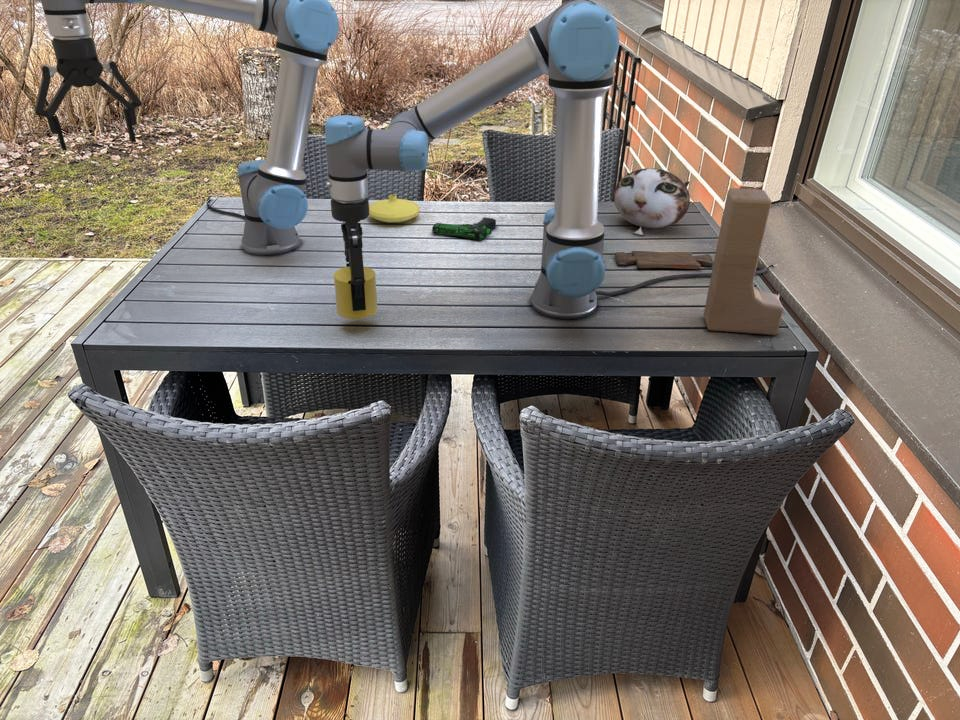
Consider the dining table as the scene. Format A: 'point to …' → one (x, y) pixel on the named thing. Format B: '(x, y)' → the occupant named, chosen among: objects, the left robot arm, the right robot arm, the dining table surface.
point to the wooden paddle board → (663, 259)
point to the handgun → (467, 229)
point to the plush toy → (651, 198)
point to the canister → (346, 298)
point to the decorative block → (741, 269)
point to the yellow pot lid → (393, 210)
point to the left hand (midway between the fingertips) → (99, 144)
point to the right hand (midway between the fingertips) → (356, 300)
